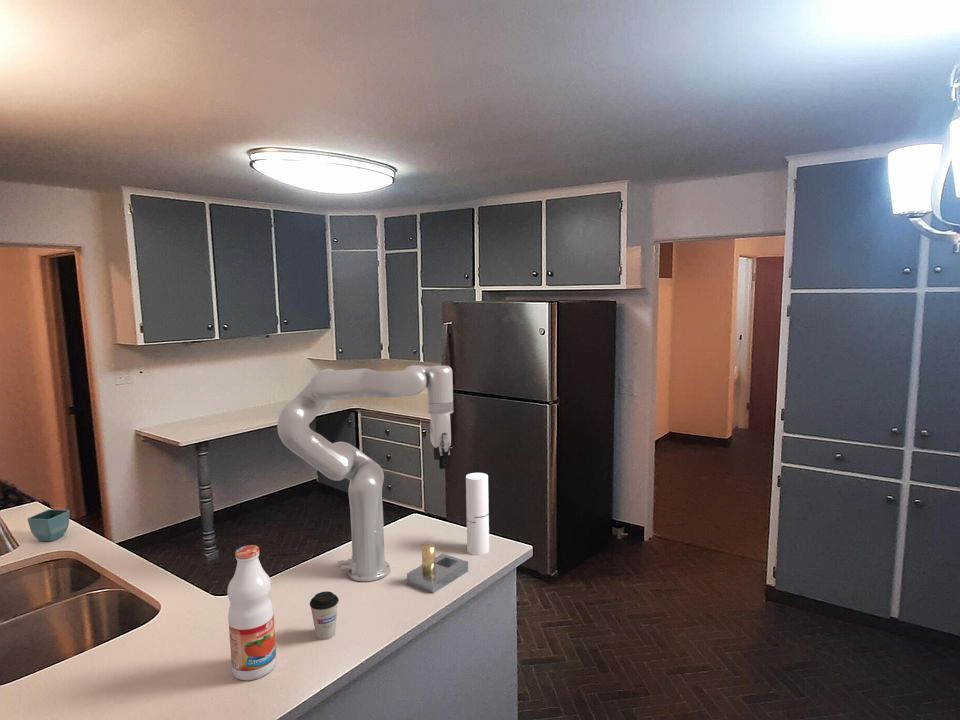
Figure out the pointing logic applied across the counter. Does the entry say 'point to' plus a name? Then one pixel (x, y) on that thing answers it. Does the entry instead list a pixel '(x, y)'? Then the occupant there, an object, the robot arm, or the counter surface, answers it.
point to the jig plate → (438, 573)
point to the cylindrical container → (477, 513)
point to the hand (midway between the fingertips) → (442, 463)
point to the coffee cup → (324, 614)
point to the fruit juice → (251, 617)
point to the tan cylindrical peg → (428, 559)
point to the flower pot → (49, 524)
